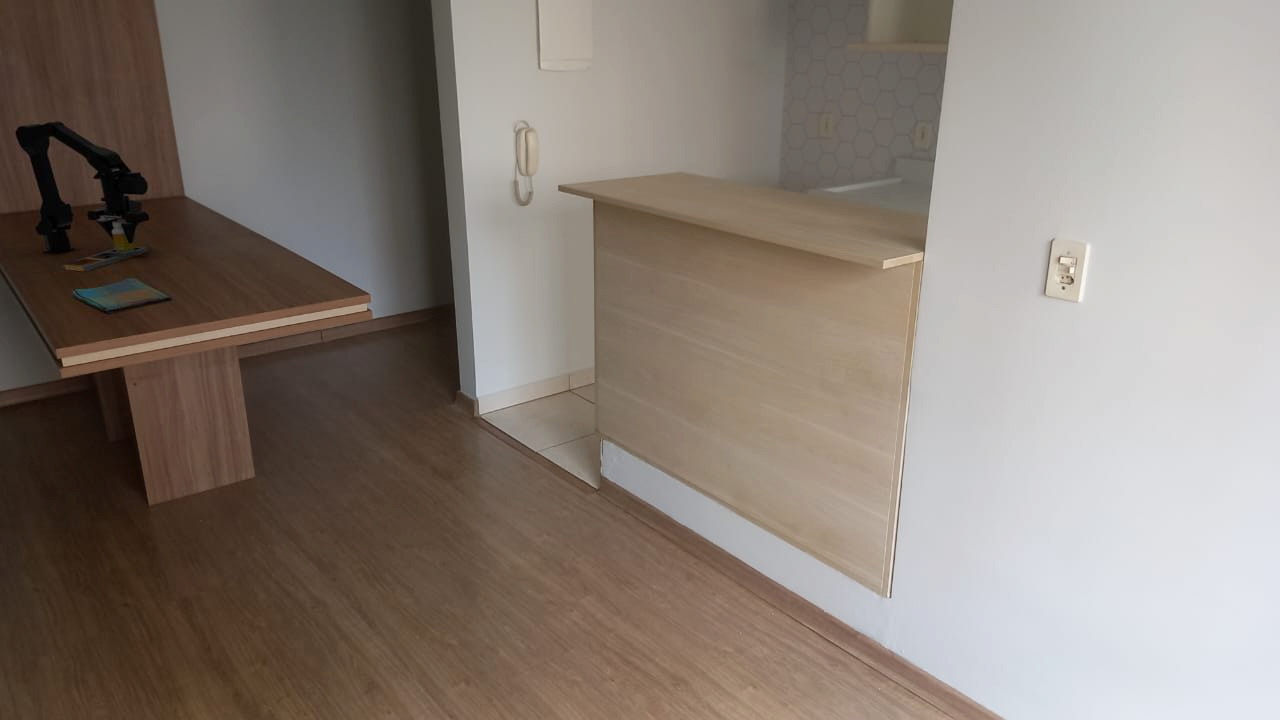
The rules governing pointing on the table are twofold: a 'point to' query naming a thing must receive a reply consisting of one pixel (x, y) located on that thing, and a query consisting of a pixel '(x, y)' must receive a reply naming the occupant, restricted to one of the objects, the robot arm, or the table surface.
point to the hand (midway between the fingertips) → (123, 242)
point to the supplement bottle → (121, 239)
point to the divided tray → (96, 260)
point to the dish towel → (120, 296)
